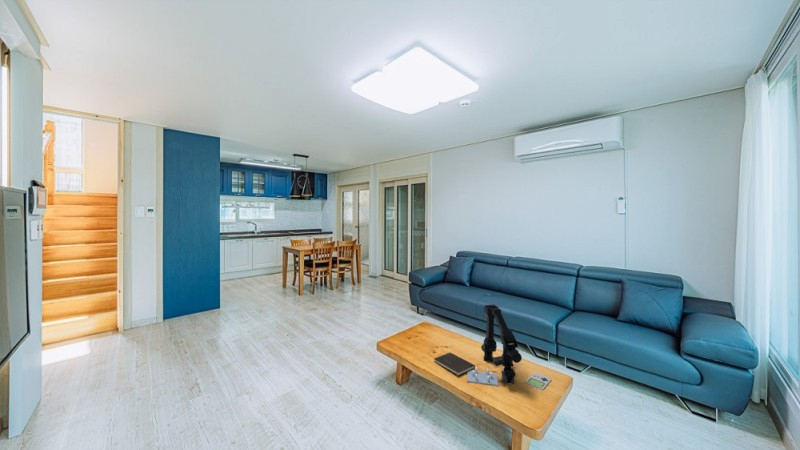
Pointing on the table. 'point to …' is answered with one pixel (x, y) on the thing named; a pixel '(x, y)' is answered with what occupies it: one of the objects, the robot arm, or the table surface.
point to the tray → (482, 377)
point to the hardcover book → (454, 364)
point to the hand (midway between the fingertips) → (507, 379)
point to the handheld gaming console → (538, 381)
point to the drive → (505, 378)
